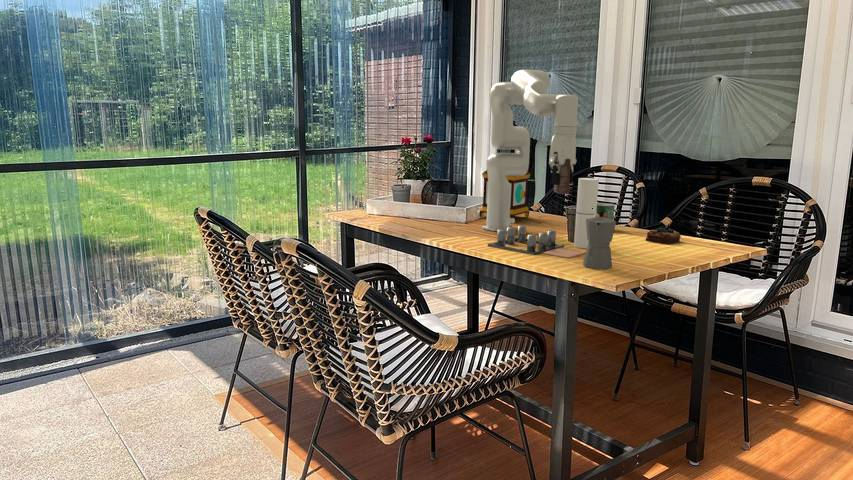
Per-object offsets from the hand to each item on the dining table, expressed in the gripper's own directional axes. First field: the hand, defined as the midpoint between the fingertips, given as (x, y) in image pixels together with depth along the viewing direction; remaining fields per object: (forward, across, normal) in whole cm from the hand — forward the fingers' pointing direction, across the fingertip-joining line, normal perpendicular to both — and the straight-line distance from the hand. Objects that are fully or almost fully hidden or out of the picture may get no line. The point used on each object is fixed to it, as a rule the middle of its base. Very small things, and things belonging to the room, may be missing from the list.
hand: (561, 183), depth 226 cm
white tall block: (+24, -17, +1) cm, 30 cm away
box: (+3, 0, 0) cm, 3 cm away
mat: (+24, 0, +3) cm, 24 cm away
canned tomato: (+24, -57, -13) cm, 63 cm away
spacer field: (+24, 0, -13) cm, 28 cm away
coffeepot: (+25, +8, +20) cm, 33 cm away
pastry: (+25, -52, +16) cm, 60 cm away
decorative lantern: (+24, -48, -59) cm, 80 cm away
